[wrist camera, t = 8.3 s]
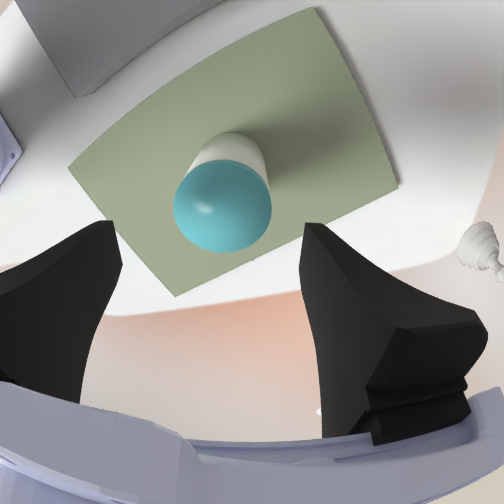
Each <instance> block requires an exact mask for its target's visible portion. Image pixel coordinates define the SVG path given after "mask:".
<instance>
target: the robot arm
mask: <svg viewBox="0 0 504 504" xmlns="http://www.w3.org/2000/svg"><path fill="white" fill-rule="evenodd" d="M21 154H22V149H21V147H20V145H19V144H18V142H17V141H16V139H15V138H14V136H13V134H12V133H11V131H10V130H9V128H8V126H7V125H6V123H5V121H4V120H3V118H2V116H1V115H0V184H1V183H2V181H3V180H4V178H5V177H6V175H7V174H8V172H9V171H10V170H11V168H12V167H13V165H14V164H15V163H16V161H17V160H18V158H19V157H20V156H21ZM14 155H15V157H14ZM122 265H123V263H122V259H121V255H120V251H119V246H118V242H117V237H116V232H115V228H114V223H113V220H102V221H97V222H95V223H92V224H90V225H88V226H87V227H85V228H83V229H81V230H79V231H78V232H76V233H74V234H73V235H71V236H69V237H68V238H66V239H64V240H63V241H61V242H59V243H58V244H56V245H54V246H53V247H51V248H49V249H48V250H46V251H44V252H42V253H41V254H39V255H37V256H35V257H34V258H32V259H30V260H28V261H26V262H24V263H22V264H20V265H18V266H16V267H14V268H11V269H9V270H6V271H4V272H2V273H0V470H1V474H0V504H426V503H429V502H431V501H434V500H436V499H439V498H441V497H443V496H446V495H448V494H450V493H453V492H455V491H457V490H459V489H461V488H463V487H465V486H468V485H470V484H471V483H473V482H476V481H477V480H479V479H481V478H483V477H484V476H486V475H488V474H490V473H491V472H493V471H494V470H496V469H498V468H499V467H501V466H502V465H504V396H503V393H502V391H501V389H500V387H494V388H491V389H488V390H486V391H483V392H480V393H478V394H475V395H473V396H472V397H470V398H468V399H466V397H465V395H464V392H463V391H465V390H466V389H467V387H468V385H467V383H466V380H465V378H464V376H465V375H466V374H467V373H468V372H469V370H470V369H471V368H472V367H473V365H474V364H475V363H476V361H477V360H478V359H479V357H480V356H481V354H482V353H483V351H484V349H485V346H486V344H487V340H488V332H487V330H486V328H485V327H484V325H483V323H482V322H481V320H480V318H479V317H478V315H477V314H476V312H475V311H474V310H471V309H468V308H465V307H462V306H459V305H456V304H453V303H449V302H446V301H444V300H441V299H439V298H436V297H434V296H432V295H429V294H427V293H424V292H422V291H420V290H418V289H416V288H414V287H412V286H410V285H408V284H406V283H404V282H402V281H401V280H399V279H397V278H395V277H393V276H392V275H390V274H389V273H387V272H385V271H384V270H382V269H381V268H379V267H377V266H376V265H374V264H373V263H372V262H370V261H369V260H368V259H366V258H365V257H363V256H362V255H361V254H359V253H358V252H357V251H356V250H354V249H353V248H352V247H351V246H349V245H348V244H347V243H346V242H344V241H343V240H342V239H341V238H340V237H339V236H337V235H336V234H335V233H334V232H333V231H331V230H330V229H329V228H328V227H326V226H325V225H324V224H322V223H308V222H305V226H304V234H303V241H302V249H301V256H300V263H299V275H300V284H301V291H302V295H303V299H304V303H305V307H306V311H307V315H308V318H309V322H310V326H311V330H312V334H313V338H314V343H315V348H316V355H317V364H318V372H319V384H320V396H321V414H322V439H313V440H300V441H281V442H224V441H206V440H193V439H184V438H183V437H182V436H180V435H179V434H178V433H177V432H175V431H172V430H170V429H167V428H165V427H163V426H160V425H158V424H156V423H154V422H151V421H148V420H144V419H140V418H136V417H132V416H129V415H125V414H122V413H118V412H113V411H108V410H103V409H98V408H94V407H89V406H85V405H80V404H79V403H80V395H81V388H82V382H83V376H84V372H85V367H86V362H87V358H88V354H89V350H90V347H91V343H92V340H93V337H94V334H95V331H96V329H97V326H98V324H99V322H100V320H101V317H102V315H103V313H104V311H105V309H106V307H107V304H108V302H109V300H110V298H111V296H112V294H113V291H114V289H115V287H116V285H117V282H118V279H119V276H120V272H121V269H122Z"/></svg>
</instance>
